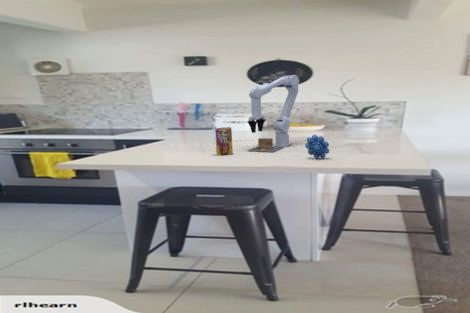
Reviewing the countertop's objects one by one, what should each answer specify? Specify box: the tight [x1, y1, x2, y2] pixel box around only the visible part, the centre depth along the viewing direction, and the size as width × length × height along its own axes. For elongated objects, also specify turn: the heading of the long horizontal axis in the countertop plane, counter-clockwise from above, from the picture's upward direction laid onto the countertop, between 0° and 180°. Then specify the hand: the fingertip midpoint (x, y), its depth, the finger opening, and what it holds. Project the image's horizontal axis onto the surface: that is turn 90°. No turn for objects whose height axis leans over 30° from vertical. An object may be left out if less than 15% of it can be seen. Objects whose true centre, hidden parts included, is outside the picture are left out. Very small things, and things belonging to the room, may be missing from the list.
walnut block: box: [257, 137, 274, 149], centre depth 197 cm, size 4×8×6 cm, turn 75°
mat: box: [247, 146, 284, 154], centre depth 198 cm, size 16×16×1 cm
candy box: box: [214, 126, 234, 156], centre depth 187 cm, size 9×4×15 cm, turn 101°
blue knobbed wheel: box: [304, 134, 330, 160], centre depth 164 cm, size 12×7×12 cm, turn 73°
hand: (256, 131), depth 200 cm, fingers open, 7 cm apart
